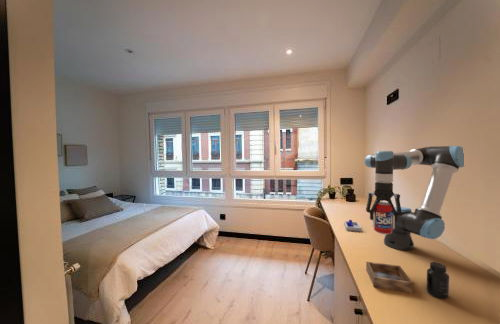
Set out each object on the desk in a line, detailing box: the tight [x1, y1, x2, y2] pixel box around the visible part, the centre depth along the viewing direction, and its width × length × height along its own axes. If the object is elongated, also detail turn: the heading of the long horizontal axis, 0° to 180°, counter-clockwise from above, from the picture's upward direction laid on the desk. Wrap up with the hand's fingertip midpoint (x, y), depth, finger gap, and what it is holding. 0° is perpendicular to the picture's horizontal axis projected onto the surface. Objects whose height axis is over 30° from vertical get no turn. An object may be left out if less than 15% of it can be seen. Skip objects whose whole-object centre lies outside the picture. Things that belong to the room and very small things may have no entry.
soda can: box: [373, 201, 393, 235], centre depth 107 cm, size 8×8×15 cm
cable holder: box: [348, 219, 354, 227], centre depth 162 cm, size 8×4×4 cm, turn 148°
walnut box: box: [365, 261, 414, 294], centre depth 95 cm, size 14×14×4 cm
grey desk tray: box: [343, 220, 363, 233], centre depth 161 cm, size 10×14×3 cm
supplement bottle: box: [425, 261, 450, 300], centre depth 85 cm, size 7×7×12 cm
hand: (383, 227), depth 108 cm, fingers closed on soda can, 8 cm apart
